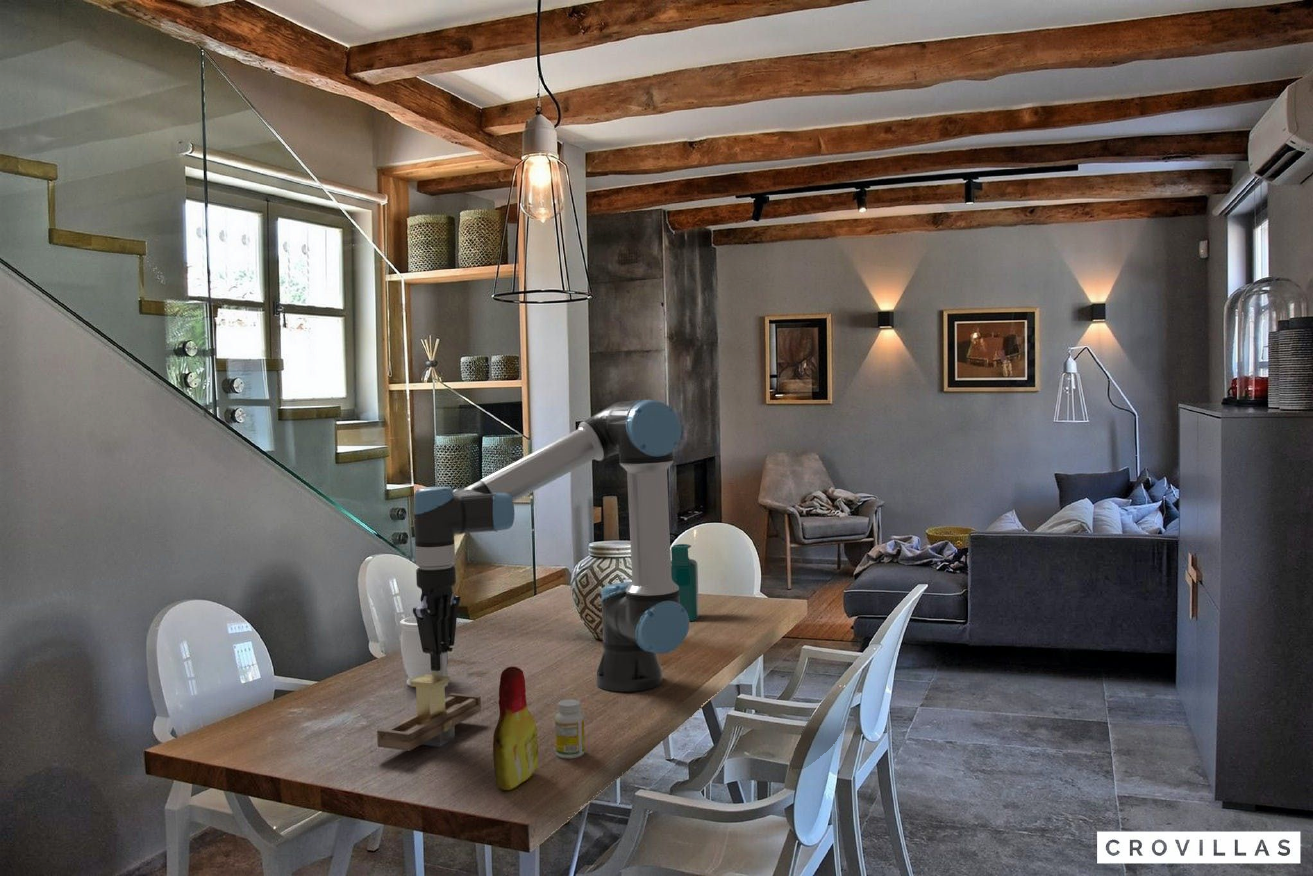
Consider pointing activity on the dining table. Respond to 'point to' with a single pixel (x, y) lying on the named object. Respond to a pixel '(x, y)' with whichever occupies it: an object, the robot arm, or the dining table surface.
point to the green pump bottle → (685, 579)
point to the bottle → (514, 733)
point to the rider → (430, 696)
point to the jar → (413, 650)
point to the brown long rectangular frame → (430, 725)
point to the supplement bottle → (569, 730)
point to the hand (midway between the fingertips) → (440, 685)
